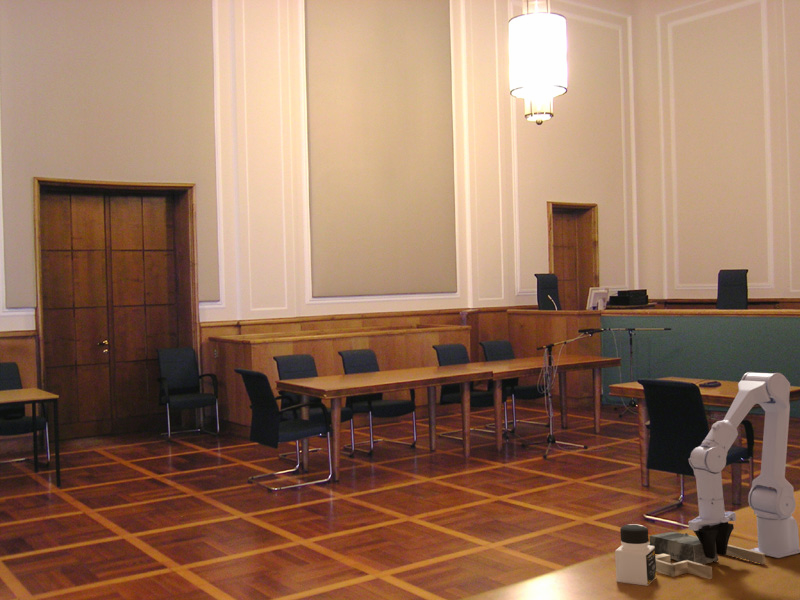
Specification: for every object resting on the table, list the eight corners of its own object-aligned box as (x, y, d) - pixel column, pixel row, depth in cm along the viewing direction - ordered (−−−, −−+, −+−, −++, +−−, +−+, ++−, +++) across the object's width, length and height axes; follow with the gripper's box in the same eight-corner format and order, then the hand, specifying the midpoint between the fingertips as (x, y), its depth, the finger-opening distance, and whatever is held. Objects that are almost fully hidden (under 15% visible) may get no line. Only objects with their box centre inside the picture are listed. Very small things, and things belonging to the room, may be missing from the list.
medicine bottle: (648, 586, 179) (645, 531, 180) (616, 582, 183) (613, 528, 183) (656, 577, 185) (654, 523, 186) (625, 573, 189) (622, 521, 189)
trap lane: (687, 544, 212) (687, 534, 212) (765, 564, 192) (764, 553, 192) (618, 559, 200) (617, 549, 200) (693, 583, 180) (692, 571, 180)
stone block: (676, 549, 208) (675, 528, 208) (721, 562, 195) (720, 540, 195) (649, 554, 204) (648, 533, 204) (694, 568, 191) (693, 545, 191)
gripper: (704, 505, 187) (709, 565, 186) (744, 495, 194) (750, 553, 194) (679, 501, 193) (684, 559, 192) (719, 491, 200) (724, 548, 200)
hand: (715, 556), depth 193 cm, fingers closed on stone block, 3 cm apart
